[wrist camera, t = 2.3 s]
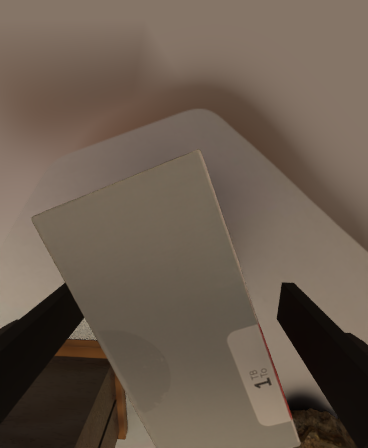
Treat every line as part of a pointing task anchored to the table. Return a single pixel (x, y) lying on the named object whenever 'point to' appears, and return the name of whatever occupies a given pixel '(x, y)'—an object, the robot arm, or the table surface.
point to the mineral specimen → (320, 430)
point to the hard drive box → (171, 308)
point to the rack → (70, 403)
